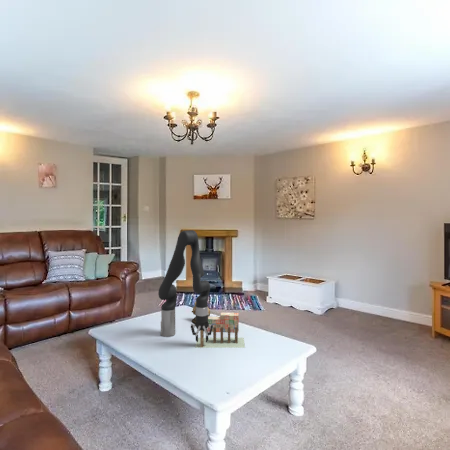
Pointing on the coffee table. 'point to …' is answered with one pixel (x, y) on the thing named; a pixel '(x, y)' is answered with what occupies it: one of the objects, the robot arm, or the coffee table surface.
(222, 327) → the domino
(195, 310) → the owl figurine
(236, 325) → the domino
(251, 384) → the coffee table surface
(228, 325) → the domino
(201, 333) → the domino
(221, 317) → the stack of blocks
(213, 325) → the domino
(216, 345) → the mat
